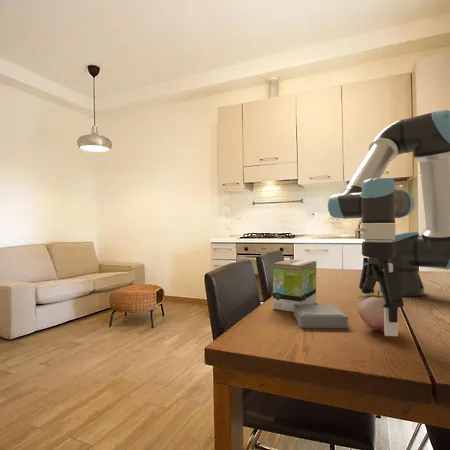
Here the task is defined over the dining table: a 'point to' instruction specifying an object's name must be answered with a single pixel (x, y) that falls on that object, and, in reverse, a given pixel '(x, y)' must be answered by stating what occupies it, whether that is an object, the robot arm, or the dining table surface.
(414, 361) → the dining table surface
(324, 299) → the dining table surface
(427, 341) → the dining table surface
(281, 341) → the dining table surface
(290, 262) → the tea box
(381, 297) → the decorative fruit
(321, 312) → the slate trivet
